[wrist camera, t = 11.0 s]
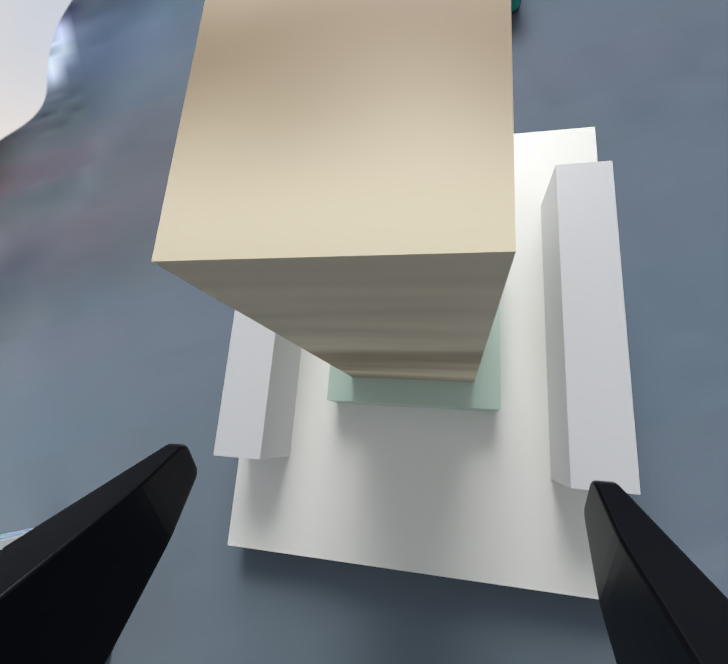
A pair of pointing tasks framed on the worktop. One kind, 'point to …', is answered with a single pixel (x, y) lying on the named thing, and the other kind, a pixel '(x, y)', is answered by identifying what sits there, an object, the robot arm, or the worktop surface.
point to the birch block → (350, 177)
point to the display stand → (457, 414)
